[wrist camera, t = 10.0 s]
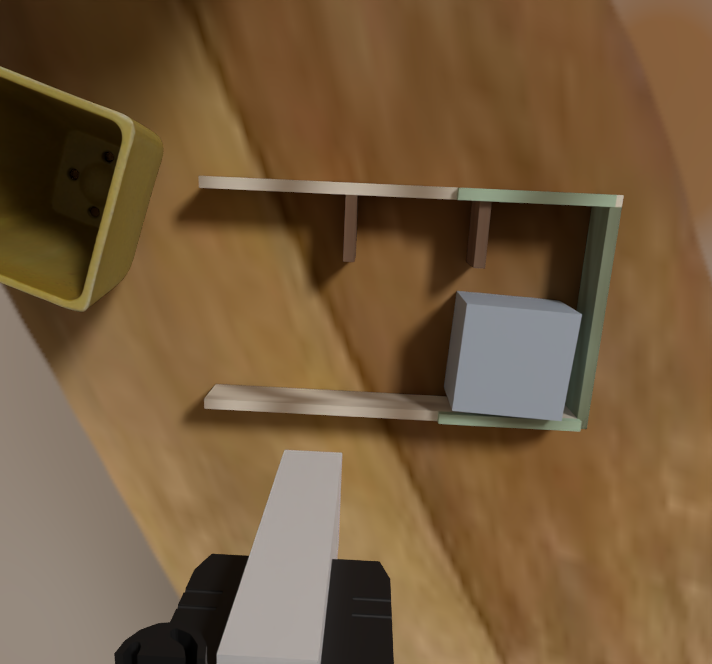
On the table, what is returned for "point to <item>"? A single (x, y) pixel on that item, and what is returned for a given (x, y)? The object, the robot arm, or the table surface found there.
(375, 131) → the table surface
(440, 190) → the wooden wall shelf
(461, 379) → the slate block
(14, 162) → the flower pot
